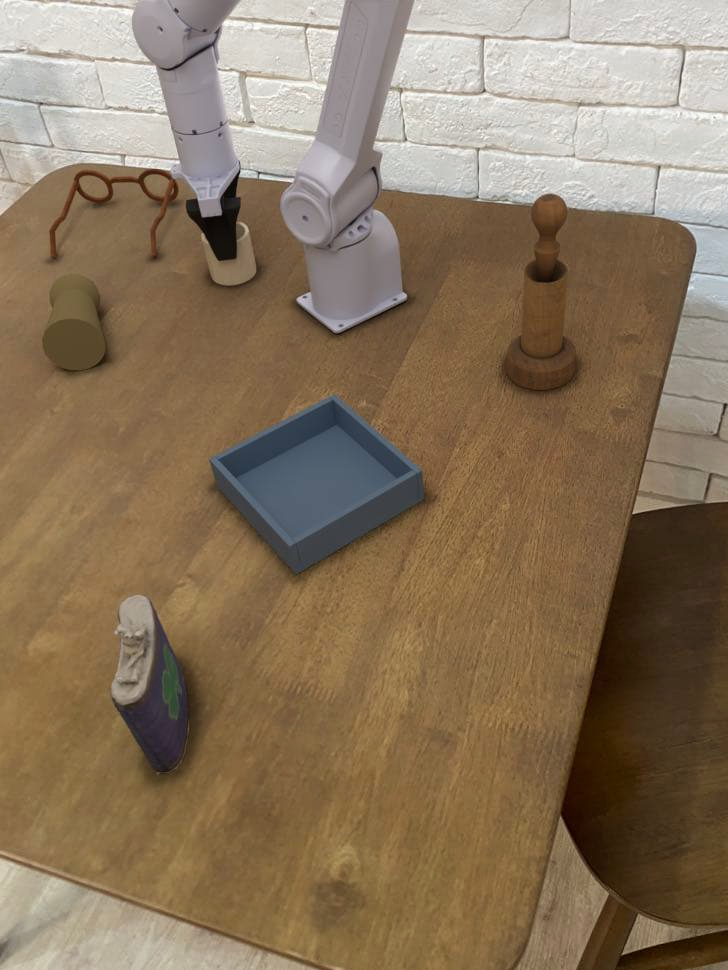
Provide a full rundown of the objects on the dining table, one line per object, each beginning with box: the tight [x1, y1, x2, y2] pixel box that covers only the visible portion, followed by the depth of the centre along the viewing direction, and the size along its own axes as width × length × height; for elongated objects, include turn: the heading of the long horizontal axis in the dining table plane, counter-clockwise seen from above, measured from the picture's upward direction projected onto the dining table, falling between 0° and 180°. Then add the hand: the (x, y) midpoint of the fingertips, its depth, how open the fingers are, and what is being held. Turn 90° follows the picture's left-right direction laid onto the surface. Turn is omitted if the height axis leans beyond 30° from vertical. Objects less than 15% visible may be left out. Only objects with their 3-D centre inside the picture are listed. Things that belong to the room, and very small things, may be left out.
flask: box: [109, 594, 191, 776], centre depth 64 cm, size 9×3×11 cm, turn 8°
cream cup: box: [200, 220, 258, 286], centre depth 105 cm, size 5×5×5 cm
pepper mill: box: [41, 273, 106, 371], centre depth 98 cm, size 6×6×11 cm
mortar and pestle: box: [505, 193, 577, 391], centre depth 85 cm, size 7×6×18 cm
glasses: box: [49, 168, 180, 259], centre depth 113 cm, size 13×13×5 cm
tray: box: [208, 393, 425, 575], centre depth 81 cm, size 13×13×4 cm
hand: (227, 244), depth 104 cm, fingers closed on cream cup, 5 cm apart
